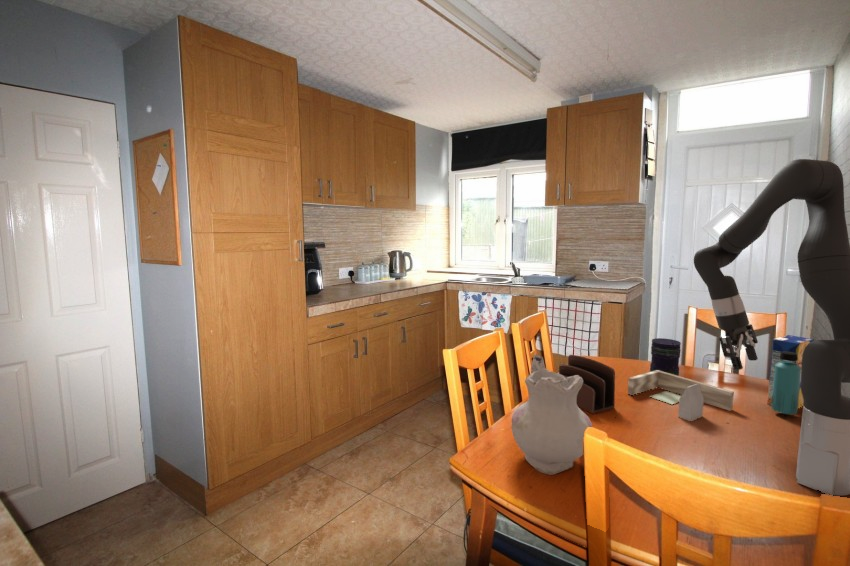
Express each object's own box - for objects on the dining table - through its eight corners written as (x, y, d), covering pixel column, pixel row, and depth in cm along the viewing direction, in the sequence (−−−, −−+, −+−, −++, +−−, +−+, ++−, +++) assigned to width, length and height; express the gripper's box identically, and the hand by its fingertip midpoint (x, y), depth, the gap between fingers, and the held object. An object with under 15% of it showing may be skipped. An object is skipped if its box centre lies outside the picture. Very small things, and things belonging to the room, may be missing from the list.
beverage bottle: (802, 420, 130) (809, 355, 128) (777, 418, 132) (783, 354, 129) (789, 411, 137) (795, 349, 134) (765, 409, 138) (770, 348, 136)
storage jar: (643, 376, 170) (645, 339, 168) (663, 373, 173) (665, 337, 171) (664, 384, 161) (666, 345, 159) (684, 382, 164) (687, 343, 162)
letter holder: (568, 389, 157) (570, 351, 156) (614, 408, 140) (617, 366, 138) (548, 394, 153) (549, 355, 151) (593, 414, 135) (595, 371, 134)
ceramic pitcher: (494, 448, 117) (489, 360, 113) (554, 430, 123) (551, 347, 120) (542, 493, 97) (538, 388, 93) (611, 470, 103) (610, 370, 99)
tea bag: (702, 416, 133) (704, 385, 132) (690, 421, 130) (692, 389, 129) (689, 412, 137) (692, 381, 135) (678, 417, 133) (680, 385, 132)
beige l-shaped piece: (703, 421, 130) (705, 402, 129) (627, 394, 152) (628, 377, 151) (732, 409, 138) (733, 391, 138) (656, 385, 160) (657, 369, 159)
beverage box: (766, 404, 143) (773, 339, 140) (782, 397, 148) (788, 334, 145) (792, 411, 137) (799, 343, 134) (807, 404, 142) (814, 339, 139)
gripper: (730, 316, 121) (747, 372, 120) (755, 303, 127) (772, 357, 127) (703, 319, 127) (719, 372, 127) (728, 306, 134) (744, 357, 134)
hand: (746, 364), depth 127 cm, fingers open, 8 cm apart
